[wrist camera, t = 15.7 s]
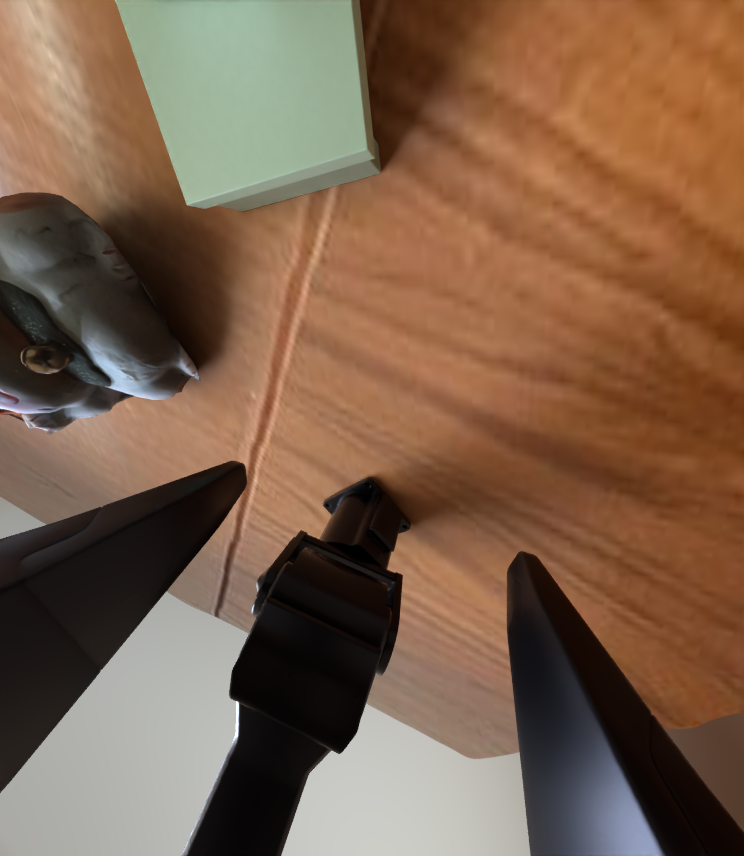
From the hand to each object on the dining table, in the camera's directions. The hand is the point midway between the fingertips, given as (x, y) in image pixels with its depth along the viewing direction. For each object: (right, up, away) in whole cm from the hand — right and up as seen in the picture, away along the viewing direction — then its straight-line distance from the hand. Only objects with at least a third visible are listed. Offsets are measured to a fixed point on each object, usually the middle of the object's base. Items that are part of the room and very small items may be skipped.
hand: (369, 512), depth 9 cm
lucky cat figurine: (-20, +12, +16) cm, 28 cm away
